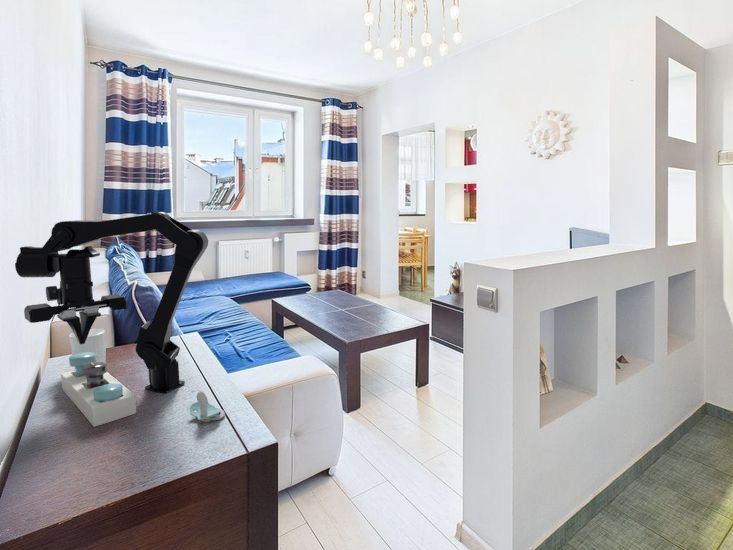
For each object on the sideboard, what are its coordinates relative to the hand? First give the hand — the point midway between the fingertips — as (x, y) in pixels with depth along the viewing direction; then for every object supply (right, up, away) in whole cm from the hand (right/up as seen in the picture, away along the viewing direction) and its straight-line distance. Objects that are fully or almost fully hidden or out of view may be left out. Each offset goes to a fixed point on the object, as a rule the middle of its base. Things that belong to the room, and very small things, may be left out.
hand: (81, 343), depth 97 cm
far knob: (-1, -8, +3) cm, 8 cm away
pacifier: (+33, -14, -9) cm, 37 cm away
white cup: (-8, -9, +16) cm, 20 cm away
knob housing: (+5, -12, -3) cm, 14 cm away
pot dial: (+5, -9, -3) cm, 11 cm away
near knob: (+12, -12, -9) cm, 19 cm away
